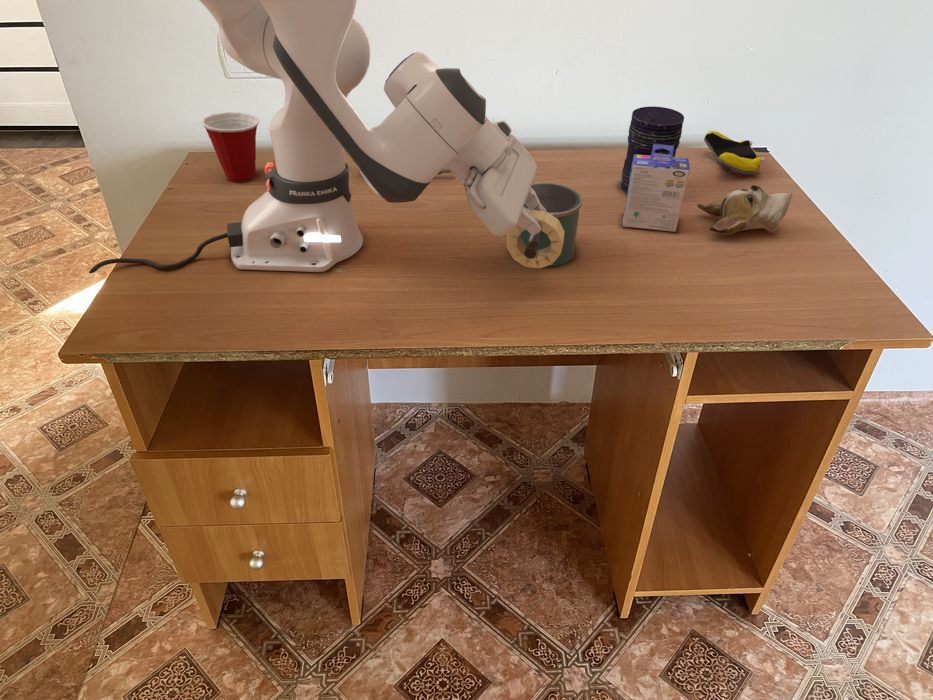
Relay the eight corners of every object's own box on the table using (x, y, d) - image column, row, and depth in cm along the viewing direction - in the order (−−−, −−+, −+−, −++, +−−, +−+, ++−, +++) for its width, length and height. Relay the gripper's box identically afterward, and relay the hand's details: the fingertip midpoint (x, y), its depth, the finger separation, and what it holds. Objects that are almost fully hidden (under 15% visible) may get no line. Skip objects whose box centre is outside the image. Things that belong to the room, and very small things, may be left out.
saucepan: (515, 230, 125) (518, 178, 118) (579, 238, 123) (586, 186, 116) (490, 296, 108) (492, 240, 102) (563, 306, 106) (570, 250, 100)
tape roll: (505, 264, 107) (507, 216, 102) (509, 254, 109) (511, 207, 104) (558, 271, 106) (564, 222, 100) (561, 261, 108) (566, 213, 102)
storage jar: (629, 174, 144) (642, 102, 134) (675, 185, 140) (691, 112, 130) (612, 192, 137) (623, 118, 127) (660, 204, 133) (675, 129, 124)
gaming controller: (715, 181, 141) (764, 182, 141) (722, 156, 138) (772, 156, 138) (698, 152, 153) (742, 152, 153) (703, 128, 149) (749, 128, 149)
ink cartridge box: (676, 219, 128) (692, 144, 119) (677, 233, 124) (694, 157, 115) (622, 213, 130) (635, 139, 121) (622, 227, 126) (634, 152, 117)
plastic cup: (278, 177, 141) (268, 120, 133) (229, 192, 135) (215, 133, 128) (254, 161, 147) (243, 105, 140) (206, 174, 142) (192, 117, 134)
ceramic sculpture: (805, 198, 116) (715, 200, 117) (793, 243, 121) (706, 245, 122) (785, 171, 124) (701, 174, 125) (774, 215, 130) (693, 217, 131)
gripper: (477, 172, 89) (546, 247, 93) (507, 116, 104) (565, 183, 109) (444, 199, 92) (512, 270, 97) (478, 142, 108) (535, 205, 112)
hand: (540, 223), depth 103 cm, fingers closed on tape roll, 3 cm apart
